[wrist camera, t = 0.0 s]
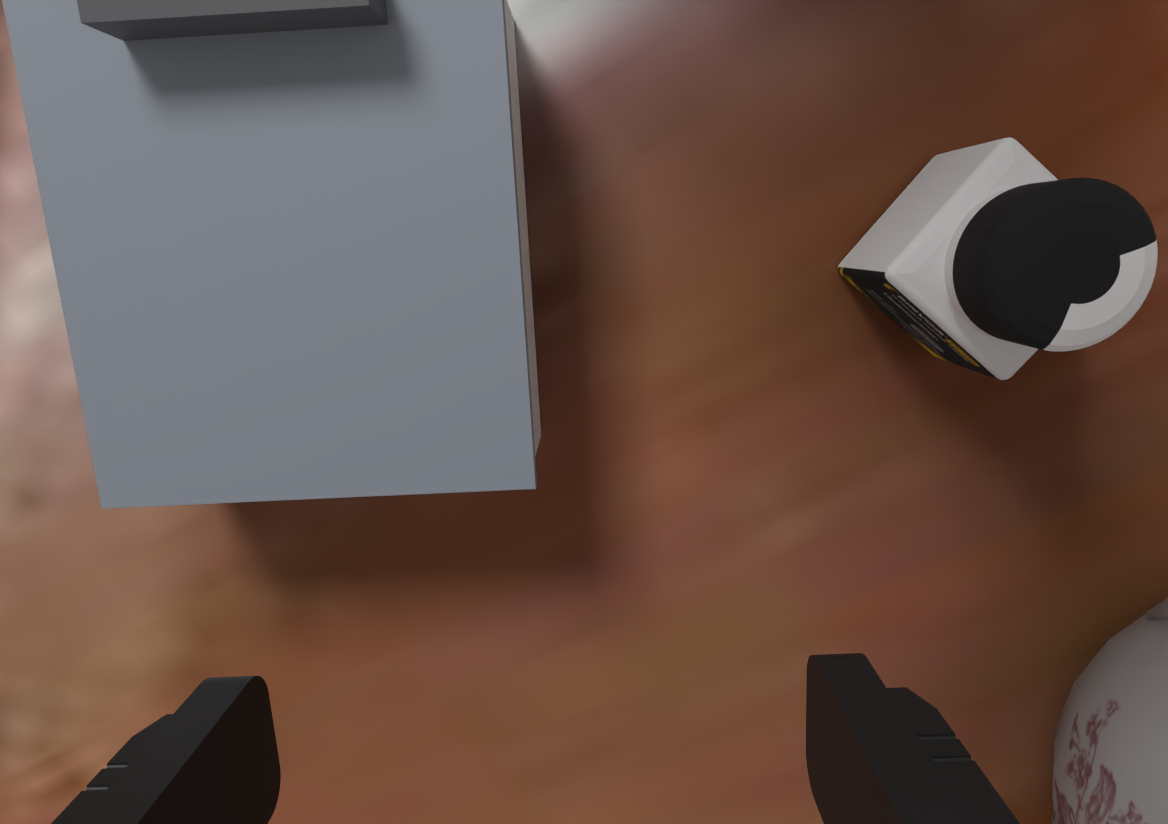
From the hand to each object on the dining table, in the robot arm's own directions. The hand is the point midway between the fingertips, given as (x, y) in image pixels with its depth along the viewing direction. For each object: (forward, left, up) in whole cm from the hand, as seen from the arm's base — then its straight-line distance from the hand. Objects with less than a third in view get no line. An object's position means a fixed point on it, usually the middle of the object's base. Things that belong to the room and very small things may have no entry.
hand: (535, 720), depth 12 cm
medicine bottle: (-5, +18, -30) cm, 35 cm away
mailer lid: (-7, -11, -22) cm, 26 cm away
